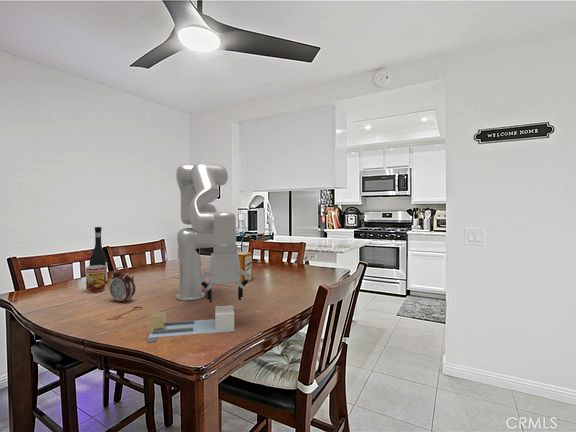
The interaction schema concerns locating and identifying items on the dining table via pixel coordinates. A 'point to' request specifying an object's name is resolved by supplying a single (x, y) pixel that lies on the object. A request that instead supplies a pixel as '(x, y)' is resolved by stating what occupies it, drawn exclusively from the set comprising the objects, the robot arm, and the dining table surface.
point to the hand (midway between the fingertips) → (225, 300)
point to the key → (123, 314)
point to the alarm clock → (122, 285)
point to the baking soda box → (245, 264)
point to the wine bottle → (98, 252)
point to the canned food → (95, 279)
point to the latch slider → (157, 321)
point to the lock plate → (185, 329)
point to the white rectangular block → (224, 317)
